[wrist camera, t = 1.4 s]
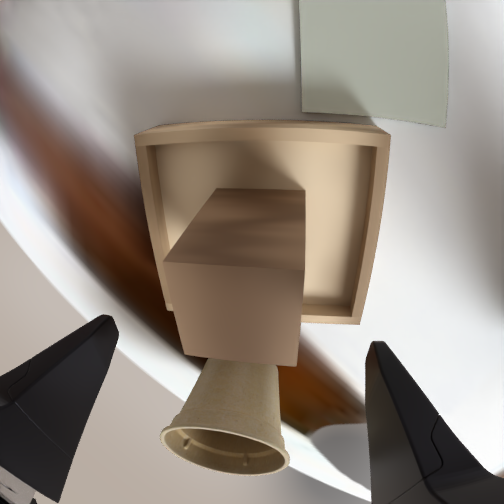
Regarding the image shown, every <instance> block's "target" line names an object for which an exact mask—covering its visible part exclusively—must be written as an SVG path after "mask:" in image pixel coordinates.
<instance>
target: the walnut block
mask: <svg viewBox="0 0 504 504" xmlns="http://www.w3.org/2000/svg"><path fill="white" fill-rule="evenodd" d="M305 249H306V190H281V189H241V188H216V189H215V191H214V192H213V193H212V195H211V196H210V197H209V198H208V200H207V201H206V202H205V204H204V205H203V206H202V208H201V209H200V210H199V212H198V213H197V214H196V216H195V217H194V218H193V220H192V221H191V223H190V224H189V225H188V227H187V228H186V229H185V231H184V232H183V233H182V235H181V236H180V238H179V239H178V240H177V242H176V243H175V245H174V246H173V247H172V249H171V250H170V252H169V253H168V254H167V256H166V257H165V259H164V260H163V261H162V262H163V267H164V272H165V276H166V281H167V285H168V290H169V294H170V299H171V303H172V307H173V311H174V315H175V319H176V323H177V327H178V331H179V335H180V339H181V342H182V346H183V350H184V354H185V355H191V356H198V357H205V358H213V359H221V360H229V361H238V362H248V363H258V364H270V365H283V366H296V364H297V355H298V346H299V336H300V326H301V315H302V304H303V292H304V279H305Z"/></svg>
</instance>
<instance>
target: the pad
mask: <svg viewBox="0 0 504 504" xmlns="http://www.w3.org/2000/svg"><path fill="white" fill-rule="evenodd" d="M299 14H300V40H301V90H302V112H315V113H333V114H346V115H358V116H368V117H377V118H385V119H393V120H400V121H407V122H414V123H420V124H426V125H432V126H437V127H442V128H446V116H447V101H448V73H449V54H448V27H447V13H446V2H445V0H299Z"/></svg>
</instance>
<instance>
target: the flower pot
mask: <svg viewBox="0 0 504 504" xmlns="http://www.w3.org/2000/svg"><path fill="white" fill-rule="evenodd" d="M160 440H161V443H162V444H163V445H164V446H165V447H166V449H168V450H169V451H170V452H172V453H173V454H174V455H176V456H177V457H179V458H181V459H183V460H185V461H187V462H189V463H192V464H194V465H197V466H199V467H202V468H205V469H208V470H212V471H216V472H220V473H226V474H232V475H242V476H258V475H267V474H272V473H276V472H279V471H281V470H283V469H284V468H286V467H287V466H288V465H289V462H290V457H289V454H288V452H287V451H286V450H285V444H284V439H283V437H282V435H281V424H280V406H279V385H278V369H277V367H276V365H270V364H258V363H248V362H238V361H229V360H221V359H213V358H208V360H207V362H206V364H205V366H204V368H203V370H202V372H201V374H200V376H199V378H198V380H197V382H196V384H195V386H194V387H193V389H192V391H191V393H190V395H189V397H188V399H187V401H186V403H185V404H184V406H183V408H182V410H181V412H180V413H179V414H178V415H176V416H175V418H174V419H173V421H172V423H171V424H170V426H167V427H165V428H164V429H163V430H162V432H161V434H160Z"/></svg>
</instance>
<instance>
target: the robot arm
mask: <svg viewBox="0 0 504 504" xmlns="http://www.w3.org/2000/svg"><path fill="white" fill-rule="evenodd" d="M118 338H119V332H118V329H117V326H116V324H115V321H114V319H113V317H112V316H109V315H104V314H103V315H100V316H98V317H97V318H95V319H93V320H92V321H90V322H89V323H87V324H85V325H84V326H82V327H80V328H79V329H77V330H76V331H74V332H72V333H71V334H69V335H68V336H66V337H64V338H63V339H61V340H59V341H58V342H56V343H55V344H53V345H51V346H50V347H48V348H47V349H45V350H43V351H42V352H40V353H39V354H37V355H36V356H34V357H32V359H29V360H28V361H26V362H24V363H23V364H21V365H20V366H18V367H16V368H15V369H13V370H11V371H9V372H7V373H6V374H4V375H2V376H0V504H37V503H36V500H35V499H34V498H33V496H34V494H35V492H36V491H38V492H40V493H41V494H43V495H44V496H46V497H48V498H50V499H51V500H53V501H55V502H57V503H58V502H59V500H60V498H61V494H62V491H63V488H64V485H65V482H66V479H67V476H68V472H69V470H70V467H71V464H72V461H73V458H74V455H75V452H76V449H77V447H78V444H79V441H80V439H81V436H82V433H83V431H84V428H85V425H86V423H87V420H88V417H89V415H90V412H91V410H92V408H93V405H94V403H95V400H96V398H97V395H98V393H99V391H100V388H101V386H102V383H103V381H104V379H105V376H106V374H107V371H108V369H109V366H110V363H111V359H112V356H113V353H114V350H115V347H116V344H117V341H118ZM365 406H366V418H367V428H368V441H369V455H370V472H371V500H372V504H504V478H501V477H498V476H495V475H493V474H491V473H490V472H488V471H487V470H486V469H485V468H484V467H483V466H482V465H481V464H480V463H479V462H478V461H477V459H476V458H475V457H474V456H473V455H472V454H471V453H470V452H469V450H468V449H467V448H466V447H465V446H464V445H463V444H462V443H461V441H460V440H459V439H458V438H457V437H456V435H455V434H454V433H453V432H452V430H451V429H450V428H449V426H448V425H447V424H446V423H445V421H444V420H443V418H442V417H441V416H440V415H439V413H438V412H437V410H436V409H435V407H434V406H433V405H432V403H431V402H430V401H429V399H428V398H427V397H426V395H425V394H424V392H423V391H422V390H421V388H420V387H419V386H418V384H417V383H416V382H415V380H414V379H413V378H412V376H411V375H410V374H409V373H408V371H407V370H406V369H405V367H404V366H403V365H402V363H401V362H400V361H399V359H398V358H397V357H396V356H395V354H394V353H393V352H392V350H391V349H390V348H389V347H388V345H387V344H386V343H385V342H384V341H372V343H371V345H370V348H369V351H368V354H367V357H366V363H365Z"/></svg>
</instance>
